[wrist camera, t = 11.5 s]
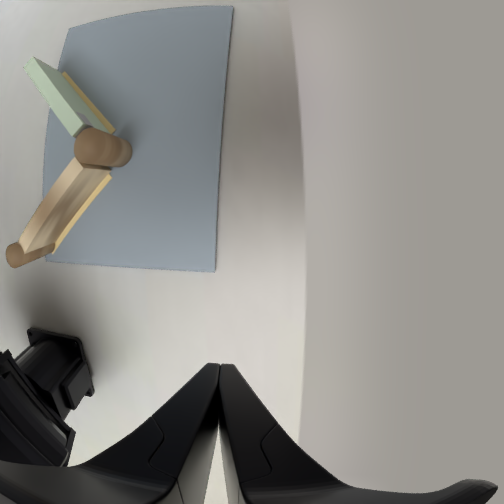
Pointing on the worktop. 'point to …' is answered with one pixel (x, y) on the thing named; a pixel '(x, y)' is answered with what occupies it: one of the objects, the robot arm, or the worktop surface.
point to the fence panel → (62, 98)
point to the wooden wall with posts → (69, 193)
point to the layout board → (148, 137)
